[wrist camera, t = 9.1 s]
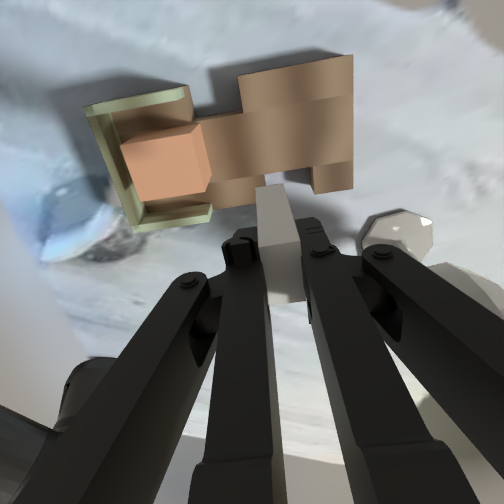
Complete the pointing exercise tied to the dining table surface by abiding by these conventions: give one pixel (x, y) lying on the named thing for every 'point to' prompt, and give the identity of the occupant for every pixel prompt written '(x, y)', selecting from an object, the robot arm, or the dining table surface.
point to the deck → (239, 138)
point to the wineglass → (418, 245)
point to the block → (168, 162)
